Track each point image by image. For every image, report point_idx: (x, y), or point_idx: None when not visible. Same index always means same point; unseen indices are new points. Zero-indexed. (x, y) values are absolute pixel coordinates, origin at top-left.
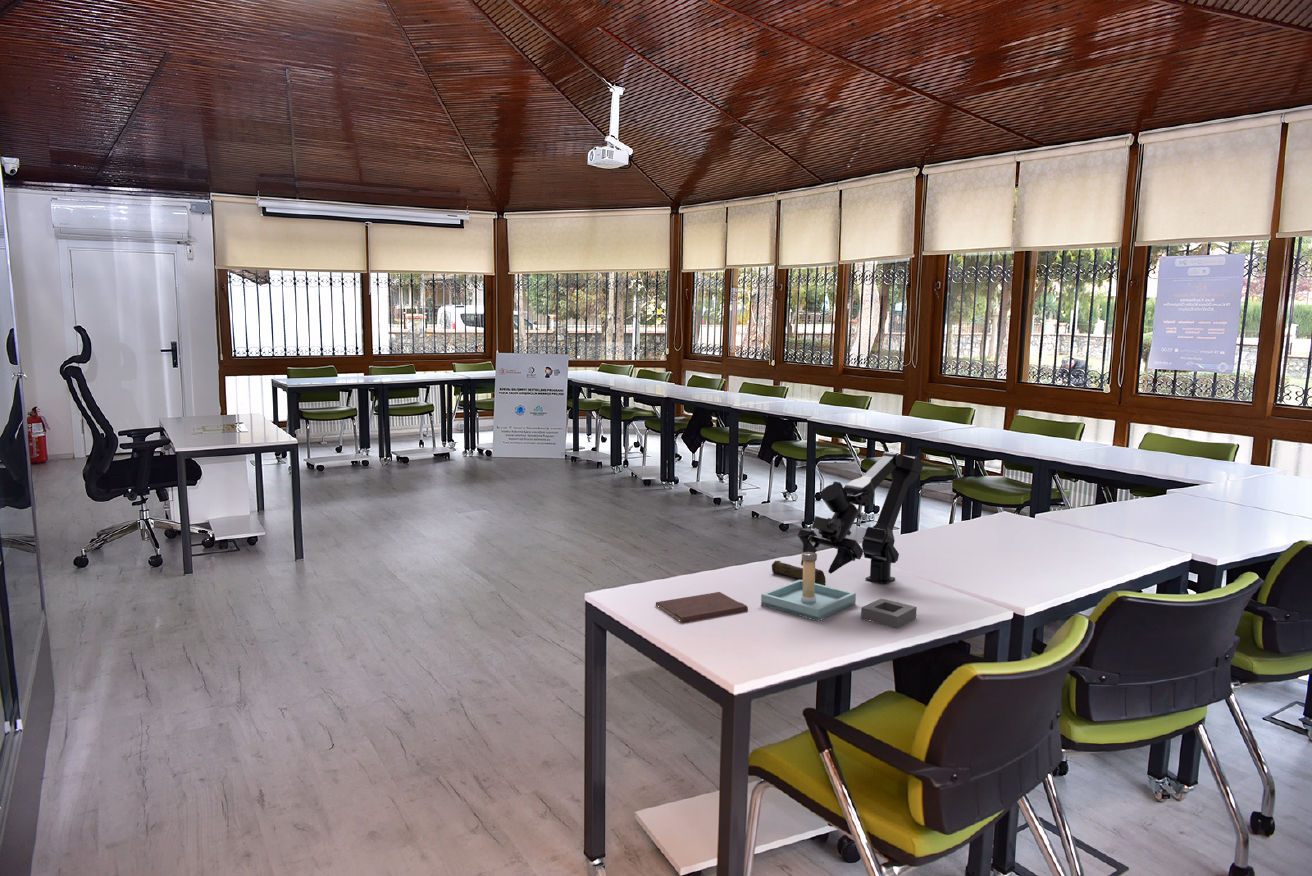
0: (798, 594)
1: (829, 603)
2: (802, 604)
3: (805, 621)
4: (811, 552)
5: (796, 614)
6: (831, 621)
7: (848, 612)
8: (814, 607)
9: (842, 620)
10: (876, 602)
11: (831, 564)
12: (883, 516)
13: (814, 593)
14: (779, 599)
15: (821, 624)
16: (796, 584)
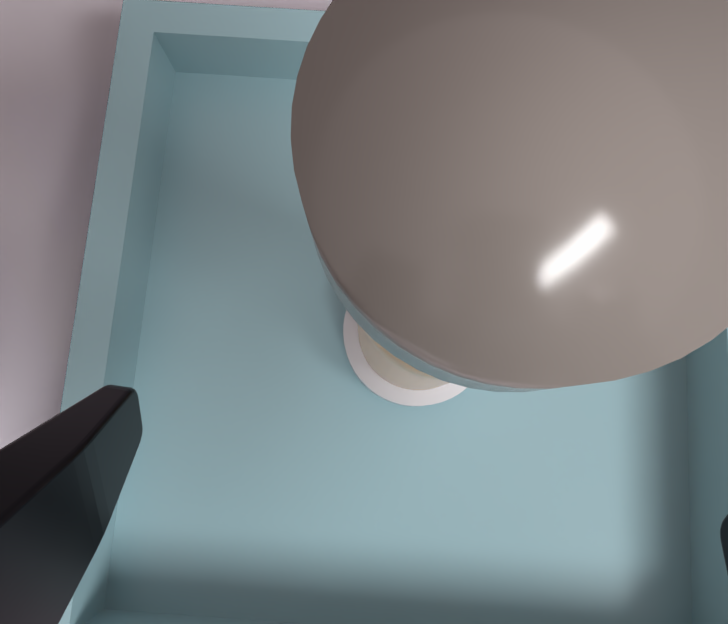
0: (585, 444)
1: (114, 199)
2: (302, 27)
3: (233, 3)
4: (602, 340)
5: None
6: (76, 116)
7: (46, 383)
8: (178, 25)
9: (14, 185)
10: None
11: (38, 474)
12: None
13: (361, 347)
14: None
15: (110, 20)
16: (723, 590)
